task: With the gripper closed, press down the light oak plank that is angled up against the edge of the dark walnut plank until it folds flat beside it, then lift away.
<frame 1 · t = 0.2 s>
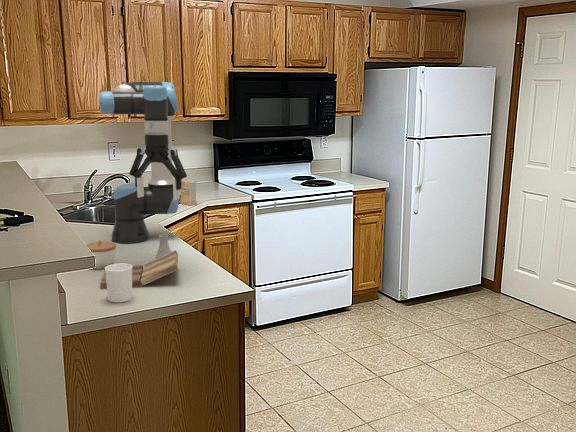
hand: (158, 198, 194), 26 cm above the worktop, tool pointing down, fingers open, 13 cm apart
walnut plank: (122, 279, 194), on the worktop
supplement box: (188, 204, 322), on the worktop
white cup: (120, 299, 176), on the worktop
oak plank: (160, 266, 195), point 4 cm above the worktop, hinge at 24.0°
lidded jar: (101, 266, 208), on the worktop
flask: (164, 262, 214), on the worktop
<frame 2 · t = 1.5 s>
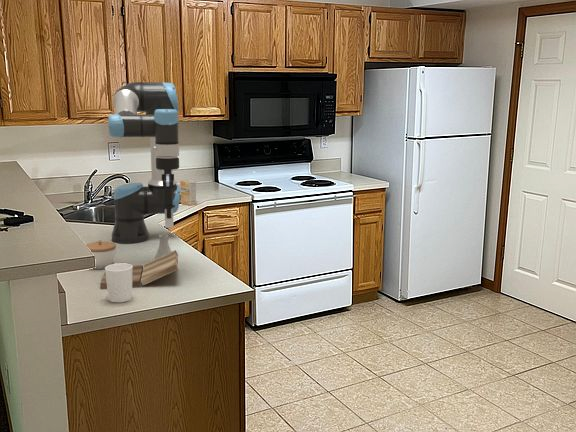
hand: (169, 227, 196), 17 cm above the worktop, tool pointing down, fingers closed
nothing on the worktop moved.
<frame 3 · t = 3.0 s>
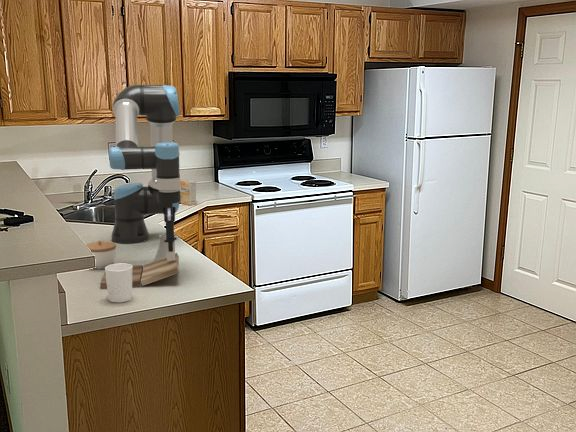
hand: (171, 260, 195), 6 cm above the worktop, tool pointing down, fingers closed
oak plank: (160, 268, 195), point 3 cm above the worktop, hinge at 18.7°, touching gripper
everything else where it was.
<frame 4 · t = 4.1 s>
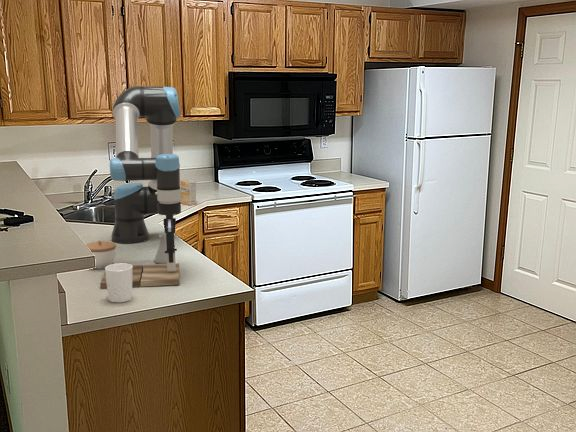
hand: (171, 270, 196), 2 cm above the worktop, tool pointing down, fingers closed
oak plank: (161, 274, 196), point 1 cm above the worktop, hinge at 0.7°, touching gripper
everything else where it was.
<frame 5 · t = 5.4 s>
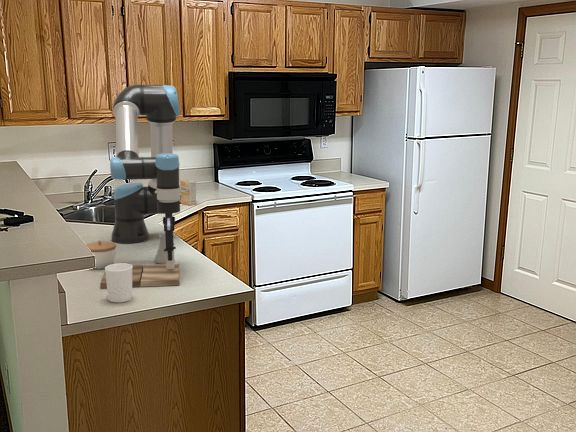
hand: (170, 268, 198), 2 cm above the worktop, tool pointing down, fingers closed
oak plank: (161, 274, 196), point 1 cm above the worktop, hinge at -0.1°, touching gripper
everything else where it was.
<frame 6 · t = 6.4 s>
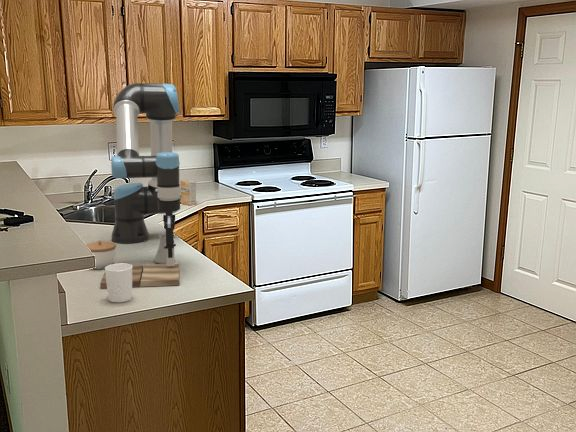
hand: (170, 265, 202), 2 cm above the worktop, tool pointing down, fingers closed
nothing on the worktop moved.
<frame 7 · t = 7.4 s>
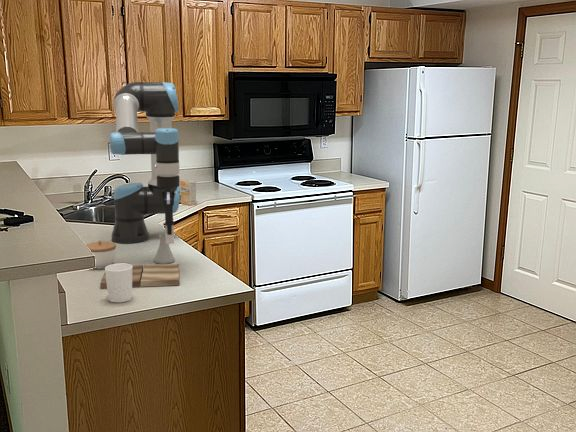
hand: (169, 243, 200), 10 cm above the worktop, tool pointing down, fingers closed
oak plank: (161, 274, 196), point 1 cm above the worktop, hinge at -0.1°
everything else where it was.
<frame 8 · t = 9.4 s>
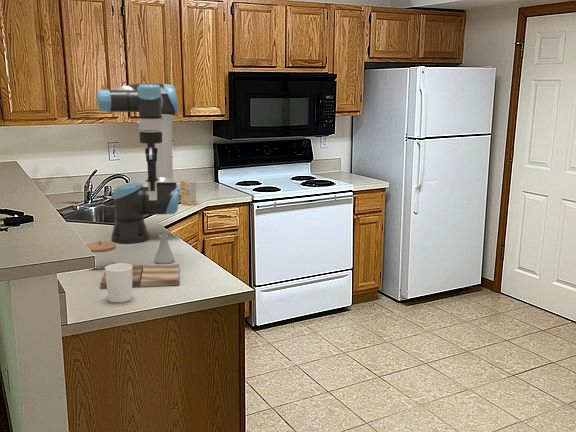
hand: (153, 199, 202), 24 cm above the worktop, tool pointing down, fingers closed
nothing on the worktop moved.
at the end: oak plank at +0° (first picture: +24°); flask moved 0.3 cm from its start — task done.
